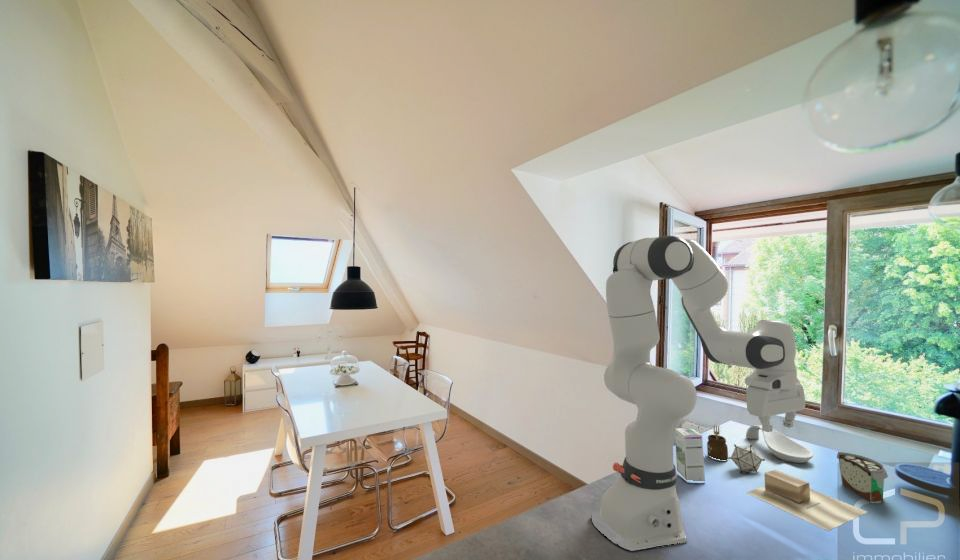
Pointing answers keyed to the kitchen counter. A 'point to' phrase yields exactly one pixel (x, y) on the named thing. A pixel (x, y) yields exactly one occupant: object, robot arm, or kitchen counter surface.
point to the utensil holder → (717, 446)
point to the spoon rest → (781, 445)
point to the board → (813, 508)
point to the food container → (862, 476)
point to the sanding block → (787, 486)
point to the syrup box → (689, 454)
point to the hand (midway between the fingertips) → (778, 429)
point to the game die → (746, 459)
